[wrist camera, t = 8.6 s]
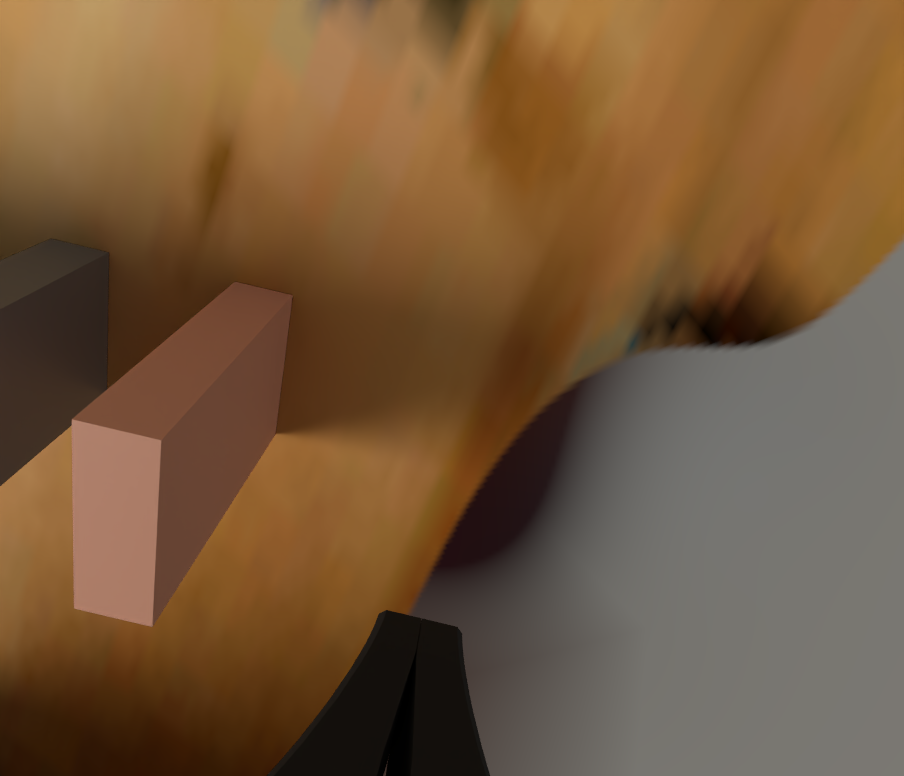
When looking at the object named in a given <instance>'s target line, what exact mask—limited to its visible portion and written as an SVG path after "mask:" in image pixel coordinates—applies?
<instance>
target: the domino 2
mask: <svg viewBox="0 0 904 776" xmlns="http://www.w3.org/2000/svg"><path fill="white" fill-rule="evenodd" d="M292 298H293V295H290V294H285V293H281V292H277V291H273V290H268V289H264V288H260V287H256V286H251V285H247V284H243V283H239V282H234V283H233V284H231V285H230V286H229V287H228V288H227V289H225V290H224V291H223V292H222V293H221V294H220V295H218V296H217V297H216V298H215V299H214V300H212V301H211V302H210V303H209V304H208V305H207V306H205V307H204V308H203V309H202V310H201V311H199V312H198V313H197V314H196V315H195V316H194V317H192V318H191V319H190V320H189V321H188V322H186V323H185V324H184V325H183V326H182V327H180V328H179V329H178V330H177V331H176V332H175V333H173V334H172V335H171V336H170V337H169V338H167V339H166V340H165V341H164V342H163V343H162V344H160V345H159V346H158V347H157V348H156V349H154V350H153V351H152V352H151V353H150V354H148V355H147V356H146V357H145V358H144V359H143V360H141V361H140V362H139V363H138V364H137V365H135V366H134V367H133V368H132V369H131V370H130V371H128V372H127V373H126V374H125V375H124V376H122V377H121V378H120V379H119V380H118V381H116V382H115V383H114V384H113V385H112V386H111V387H109V388H108V389H107V390H106V391H105V392H103V393H102V394H101V395H100V396H99V397H98V398H96V399H95V400H94V401H93V402H92V403H90V404H89V405H88V406H87V407H86V408H84V409H83V410H82V411H81V412H80V413H79V414H77V415H76V416H75V417H74V418H73V419H72V480H73V559H74V609H79V610H83V611H87V612H91V613H96V614H100V615H104V616H108V617H113V618H117V619H121V620H125V621H130V622H134V623H138V624H142V625H147V626H151V627H153V625H154V623H155V622H156V620H157V619H158V617H159V616H160V614H161V612H162V611H163V609H164V608H165V606H166V605H167V603H168V602H169V600H170V598H171V597H172V595H173V594H174V592H175V591H176V589H177V587H178V586H179V584H180V583H181V581H182V580H183V578H184V576H185V575H186V573H187V572H188V570H189V569H190V567H191V566H192V564H193V562H194V561H195V559H196V558H197V556H198V555H199V553H200V551H201V550H202V548H203V547H204V545H205V544H206V542H207V541H208V539H209V537H210V536H211V534H212V533H213V531H214V530H215V528H216V526H217V525H218V523H219V522H220V520H221V519H222V517H223V515H224V514H225V512H226V511H227V509H228V508H229V506H230V505H231V503H232V501H233V500H234V498H235V497H236V495H237V494H238V492H239V490H240V489H241V487H242V486H243V484H244V483H245V481H246V480H247V478H248V476H249V475H250V473H251V472H252V470H253V469H254V467H255V465H256V464H257V462H258V461H259V459H260V458H261V456H262V455H263V453H264V451H265V450H266V448H267V447H268V445H269V444H270V442H271V440H272V439H273V437H274V436H275V434H276V426H277V418H278V410H279V402H280V394H281V386H282V378H283V370H284V362H285V354H286V346H287V338H288V330H289V322H290V314H291V306H292Z"/></svg>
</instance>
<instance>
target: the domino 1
mask: <svg viewBox="0 0 904 776" xmlns="http://www.w3.org/2000/svg"><path fill="white" fill-rule="evenodd" d="M108 279H109V252H105V251H101V250H96V249H92V248H88V247H84V246H80V245H75V244H71V243H67V242H63V241H59V240H54V239H49V240H47V241H44V242H42V243H40V244H37V245H35V246H33V247H30V248H28V249H26V250H23V251H21V252H19V253H16V254H14V255H12V256H10V257H7V258H5V259H3V260H0V486H1V485H2V484H3V483H4V482H6V481H7V480H8V479H9V478H10V477H11V476H13V475H14V474H15V473H16V472H17V471H18V470H20V469H21V468H22V467H23V466H24V465H25V464H27V463H28V462H29V461H30V460H31V459H33V458H34V457H35V456H36V455H37V454H38V453H40V452H41V451H42V450H43V449H44V448H45V447H47V446H48V445H49V444H50V443H51V442H52V441H54V440H55V439H56V438H57V437H58V436H59V435H61V434H62V433H63V432H64V431H65V430H67V429H68V428H69V427H70V426H71V425H72V419H73V418H74V417H75V416H76V415H77V414H79V413H80V412H81V411H82V410H83V409H84V408H86V407H87V406H88V405H89V404H90V403H92V402H93V401H94V400H95V399H96V398H98V397H99V396H100V395H101V394H102V393H103V392H105V391H106V390H107V350H108Z"/></svg>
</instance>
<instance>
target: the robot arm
mask: <svg viewBox="0 0 904 776" xmlns="http://www.w3.org/2000/svg"><path fill="white" fill-rule="evenodd" d="M388 757H389V758H388ZM387 761H388V763H387ZM386 764H387V771H386V776H490V774H489V771H488V767H487V764H486V761H485V757H484V753H483V750H482V746H481V742H480V738H479V734H478V730H477V726H476V722H475V718H474V714H473V709H472V705H471V700H470V695H469V689H468V684H467V678H466V672H465V665H464V657H463V647H462V633H461V632H460V630H459V629H458V627H455V626H451V625H447V624H442V623H438V622H434V621H430V620H426V619H422V621H421V618H417V617H413V616H409V615H405V614H401V613H397V612H392V611H388V610H386V611H384V612H382V613H379V615H378V618H377V620H376V623H375V626H374V628H373V630H372V632H371V634H370V636H369V638H368V640H367V642H366V644H365V646H364V647H363V649H362V651H361V653H360V654H359V656H358V657H357V659H356V661H355V662H354V664H353V666H352V667H351V669H350V670H349V672H348V673H347V675H346V676H345V678H344V679H343V681H342V682H341V684H340V685H339V686H338V688H337V689H336V691H335V692H334V694H333V695H332V697H331V698H330V700H329V701H328V702H327V704H326V705H325V706H324V708H323V709H322V710H321V712H320V713H319V714H318V715H317V717H316V718H315V719H314V720H313V722H312V723H311V724H310V725H309V727H308V728H307V729H306V731H305V732H304V733H303V734H302V736H301V737H300V738H299V739H298V741H297V742H296V743H295V744H294V745H293V747H292V748H291V749H290V750H289V751H288V752H287V754H286V755H285V756H284V757H283V758H282V759H281V760H280V762H279V763H278V764H277V765H276V766H275V767H274V768H273V769H272V771H271V772H270V773H269V774H268V775H267V776H383V774H384V771H385V767H386Z"/></svg>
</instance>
